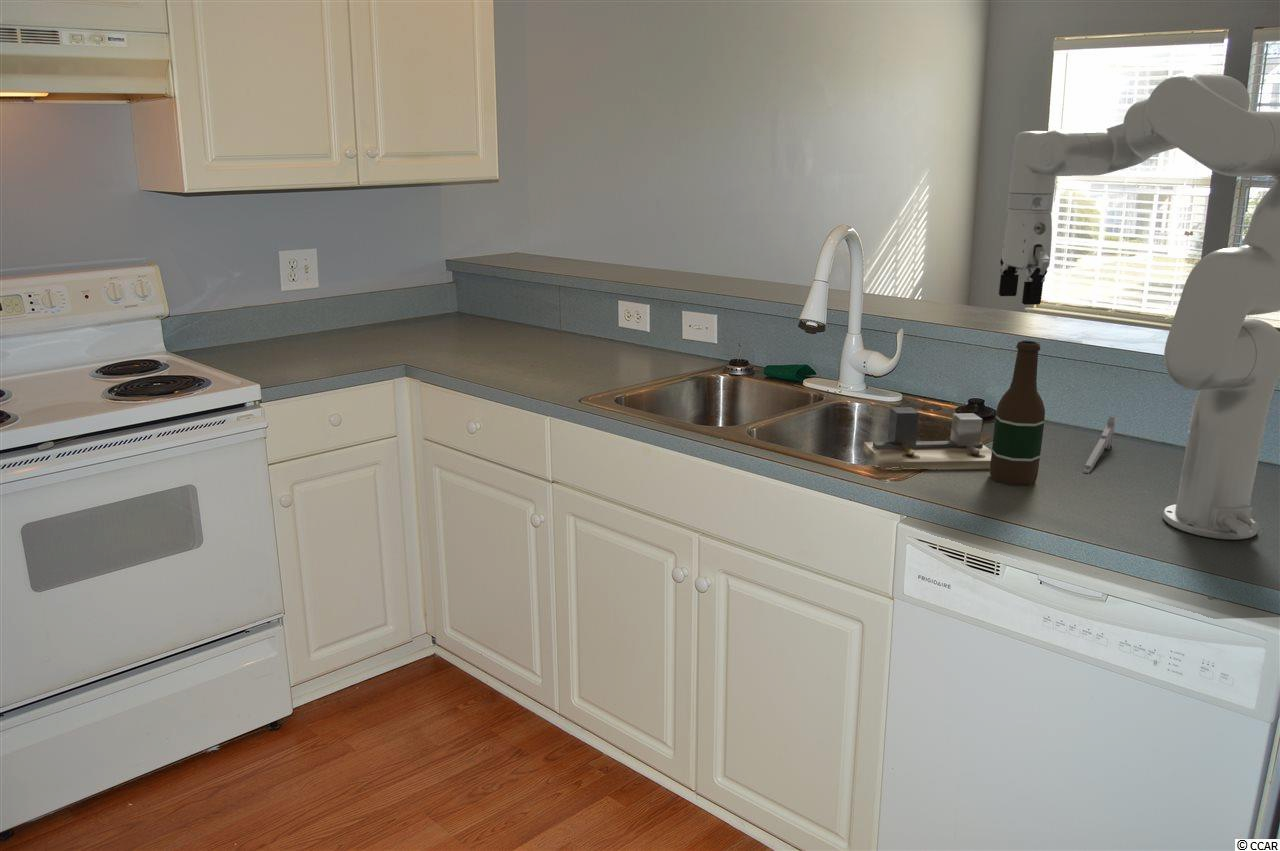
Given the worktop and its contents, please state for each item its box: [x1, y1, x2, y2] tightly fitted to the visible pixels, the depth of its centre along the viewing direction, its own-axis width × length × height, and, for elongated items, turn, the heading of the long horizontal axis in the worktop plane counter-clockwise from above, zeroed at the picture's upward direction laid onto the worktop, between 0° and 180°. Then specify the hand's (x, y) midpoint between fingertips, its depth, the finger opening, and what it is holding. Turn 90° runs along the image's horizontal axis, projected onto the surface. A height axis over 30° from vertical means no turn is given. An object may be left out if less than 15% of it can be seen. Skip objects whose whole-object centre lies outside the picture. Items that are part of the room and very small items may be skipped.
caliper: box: [1082, 416, 1116, 474], centre depth 183 cm, size 20×1×6 cm, turn 145°
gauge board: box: [862, 412, 992, 471], centre depth 182 cm, size 12×22×7 cm, turn 94°
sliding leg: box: [887, 406, 920, 456], centre depth 181 cm, size 8×4×7 cm, turn 4°
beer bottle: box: [989, 340, 1046, 487], centre depth 169 cm, size 8×8×24 cm
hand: (1018, 299), depth 182 cm, fingers open, 9 cm apart
